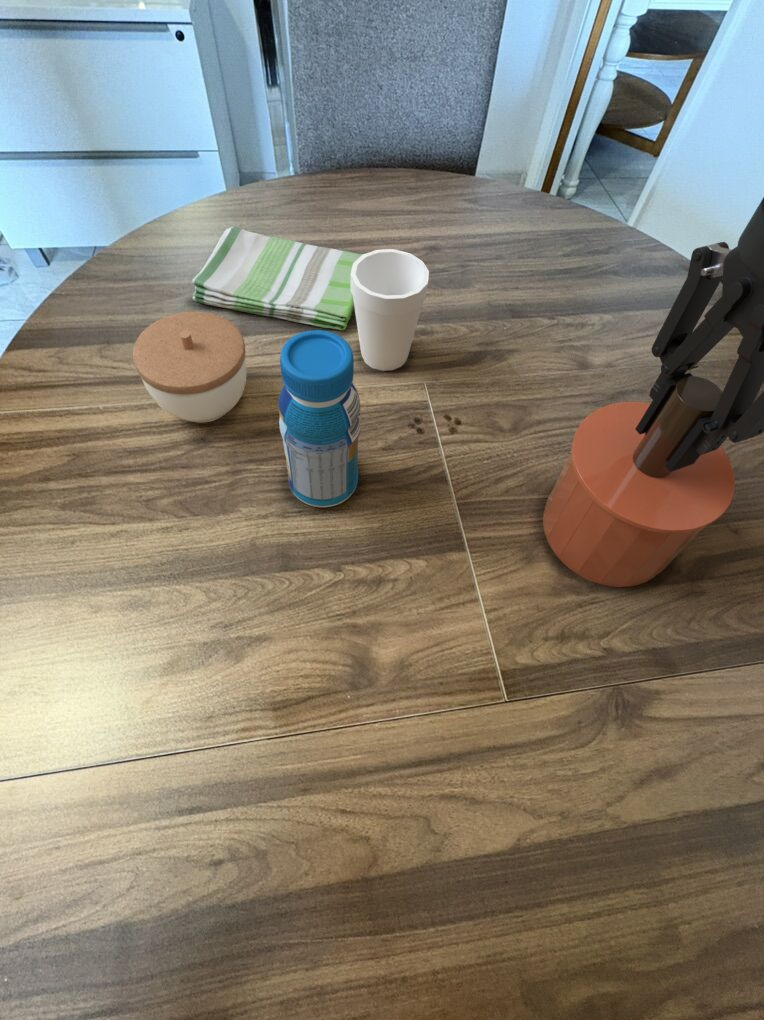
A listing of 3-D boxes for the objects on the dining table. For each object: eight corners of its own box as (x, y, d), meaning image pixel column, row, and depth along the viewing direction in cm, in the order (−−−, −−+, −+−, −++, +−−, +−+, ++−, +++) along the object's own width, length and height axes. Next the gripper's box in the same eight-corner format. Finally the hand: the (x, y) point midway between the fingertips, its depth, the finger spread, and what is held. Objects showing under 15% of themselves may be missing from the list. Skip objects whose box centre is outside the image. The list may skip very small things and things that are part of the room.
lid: (663, 393, 66) (713, 313, 57) (762, 506, 59) (837, 435, 50) (540, 432, 62) (572, 353, 53) (628, 559, 55) (683, 492, 46)
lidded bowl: (187, 355, 82) (166, 285, 73) (271, 383, 80) (261, 315, 71) (133, 420, 76) (103, 353, 67) (223, 453, 74) (205, 388, 65)
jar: (621, 463, 76) (665, 393, 66) (696, 562, 69) (759, 501, 58) (519, 498, 72) (548, 430, 62) (587, 606, 65) (634, 550, 55)
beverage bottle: (310, 522, 69) (298, 400, 52) (274, 471, 73) (253, 341, 56) (372, 490, 72) (381, 365, 55) (335, 442, 76) (332, 310, 59)
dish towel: (231, 236, 97) (227, 215, 94) (373, 261, 95) (374, 240, 92) (190, 306, 88) (185, 285, 85) (347, 335, 86) (347, 315, 83)
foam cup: (395, 389, 81) (403, 309, 70) (337, 361, 83) (335, 279, 72) (430, 348, 85) (442, 266, 75) (374, 322, 88) (378, 239, 77)
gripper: (694, 149, 41) (581, 393, 61) (894, 309, 33) (688, 531, 53) (779, 133, 43) (642, 374, 63) (988, 281, 35) (756, 505, 54)
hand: (664, 445), depth 58 cm, fingers closed on lid, 4 cm apart
